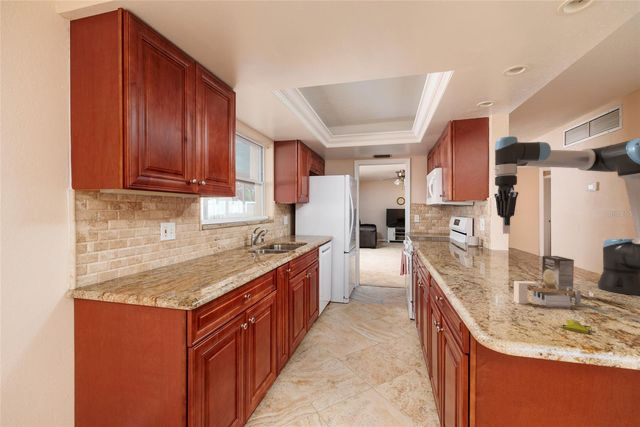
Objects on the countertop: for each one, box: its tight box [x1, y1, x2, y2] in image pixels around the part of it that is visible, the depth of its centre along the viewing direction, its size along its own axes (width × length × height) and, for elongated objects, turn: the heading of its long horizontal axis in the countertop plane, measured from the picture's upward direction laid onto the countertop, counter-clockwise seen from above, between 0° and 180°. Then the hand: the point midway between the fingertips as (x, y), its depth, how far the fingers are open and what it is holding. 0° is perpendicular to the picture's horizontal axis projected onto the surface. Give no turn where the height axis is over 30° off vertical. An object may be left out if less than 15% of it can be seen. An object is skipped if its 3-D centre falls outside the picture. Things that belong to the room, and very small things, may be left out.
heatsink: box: [531, 291, 572, 308], centre depth 104 cm, size 8×8×4 cm
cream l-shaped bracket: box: [513, 280, 540, 305], centre depth 104 cm, size 7×3×8 cm, turn 85°
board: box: [567, 287, 610, 315], centre depth 104 cm, size 25×18×7 cm
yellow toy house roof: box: [560, 318, 593, 335], centre depth 85 cm, size 10×9×3 cm
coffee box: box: [541, 255, 575, 297], centre depth 117 cm, size 9×6×16 cm
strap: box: [527, 286, 575, 295], centre depth 104 cm, size 16×4×1 cm, turn 85°
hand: (505, 233), depth 114 cm, fingers closed
